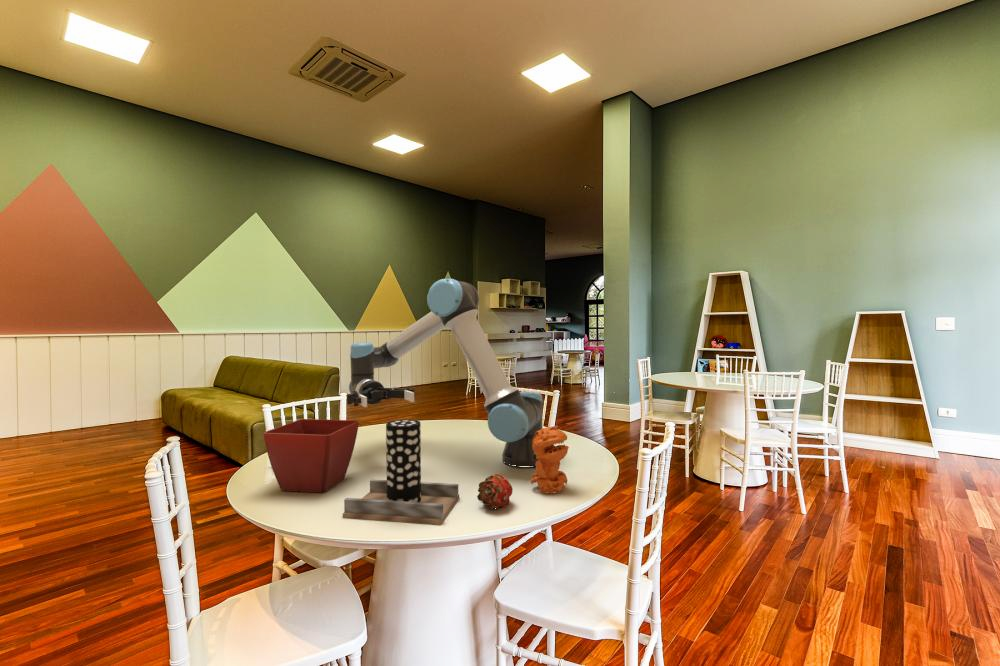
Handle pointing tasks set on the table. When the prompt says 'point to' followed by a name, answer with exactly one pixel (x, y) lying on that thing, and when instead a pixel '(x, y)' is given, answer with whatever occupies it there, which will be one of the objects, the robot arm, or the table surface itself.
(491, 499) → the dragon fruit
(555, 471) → the toy dinosaur
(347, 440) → the plant pot
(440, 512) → the track
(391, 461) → the spotted tube
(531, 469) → the table surface
